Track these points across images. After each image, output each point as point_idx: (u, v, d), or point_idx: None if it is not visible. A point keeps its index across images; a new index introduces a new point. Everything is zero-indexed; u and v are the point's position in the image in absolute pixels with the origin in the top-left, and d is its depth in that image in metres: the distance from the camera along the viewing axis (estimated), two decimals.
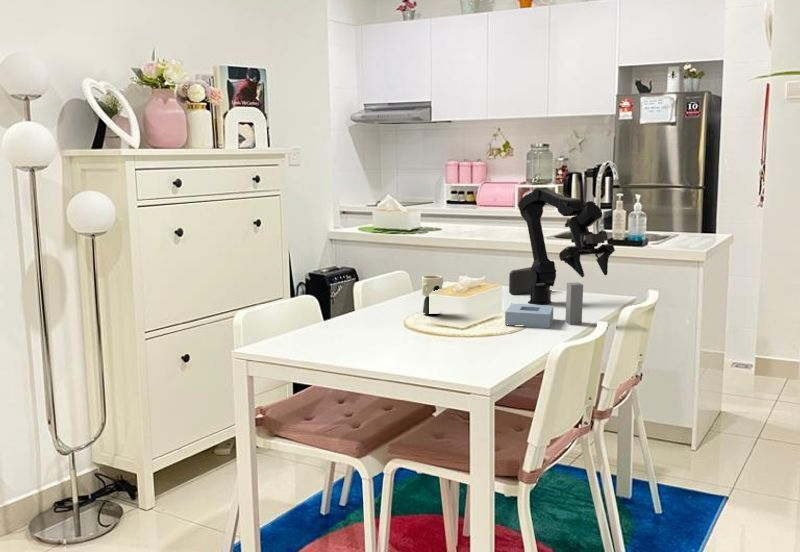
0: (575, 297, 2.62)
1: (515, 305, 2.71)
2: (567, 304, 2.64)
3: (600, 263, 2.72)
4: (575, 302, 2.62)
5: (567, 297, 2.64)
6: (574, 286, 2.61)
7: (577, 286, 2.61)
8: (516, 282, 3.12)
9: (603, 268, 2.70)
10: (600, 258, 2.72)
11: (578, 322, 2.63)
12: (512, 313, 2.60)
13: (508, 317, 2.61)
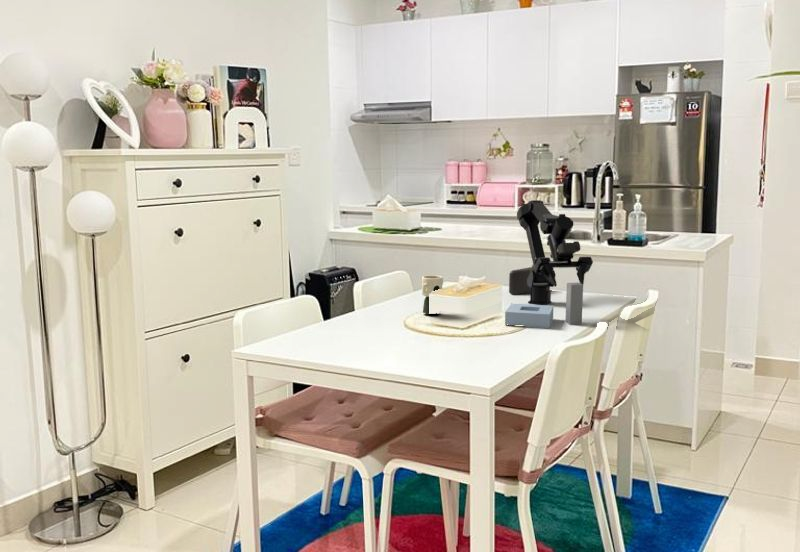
0: (575, 297, 2.62)
1: (515, 305, 2.71)
2: (567, 304, 2.64)
3: (578, 275, 2.73)
4: (575, 302, 2.62)
5: (567, 297, 2.64)
6: (574, 286, 2.61)
7: (577, 286, 2.61)
8: (516, 282, 3.12)
9: (580, 279, 2.70)
10: (578, 270, 2.73)
11: (578, 322, 2.63)
12: (512, 313, 2.60)
13: (508, 317, 2.61)
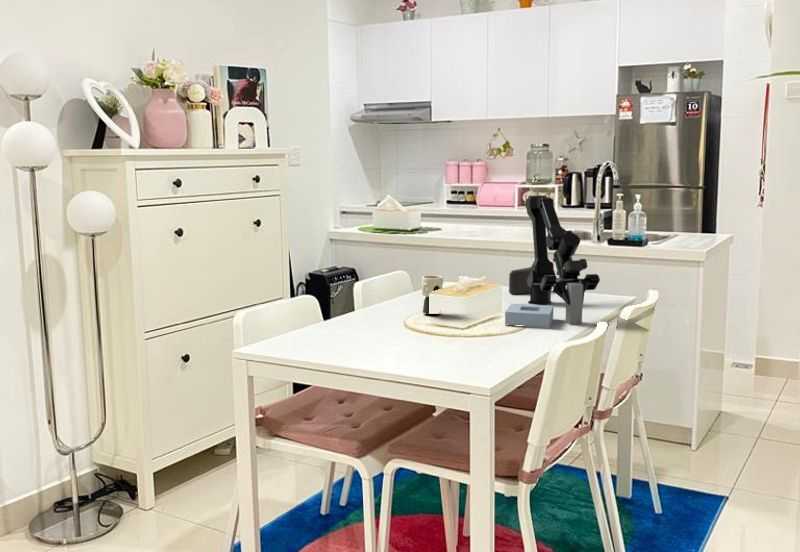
0: (575, 297, 2.62)
1: (515, 305, 2.71)
2: (567, 304, 2.64)
3: None
4: (575, 302, 2.62)
5: None
6: (574, 286, 2.61)
7: (577, 286, 2.61)
8: (516, 282, 3.12)
9: None
10: None
11: (578, 322, 2.63)
12: (512, 313, 2.60)
13: (508, 317, 2.61)
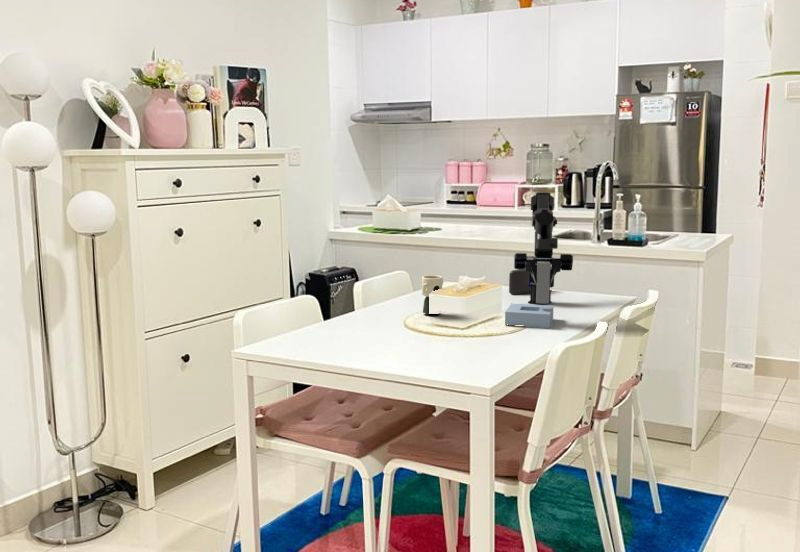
0: (542, 276, 2.61)
1: (515, 305, 2.71)
2: None
3: None
4: (542, 280, 2.61)
5: None
6: (540, 264, 2.60)
7: (544, 265, 2.60)
8: (516, 282, 3.12)
9: None
10: None
11: (545, 301, 2.62)
12: (512, 313, 2.60)
13: (508, 317, 2.61)
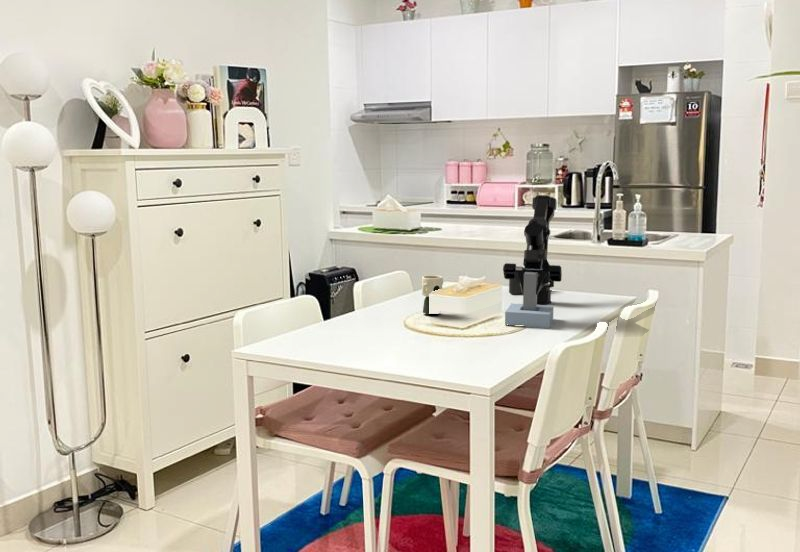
0: (528, 286, 2.63)
1: (515, 305, 2.71)
2: None
3: None
4: (528, 291, 2.63)
5: None
6: (527, 275, 2.62)
7: (530, 275, 2.62)
8: (516, 282, 3.12)
9: None
10: None
11: None
12: (512, 313, 2.60)
13: (508, 317, 2.61)
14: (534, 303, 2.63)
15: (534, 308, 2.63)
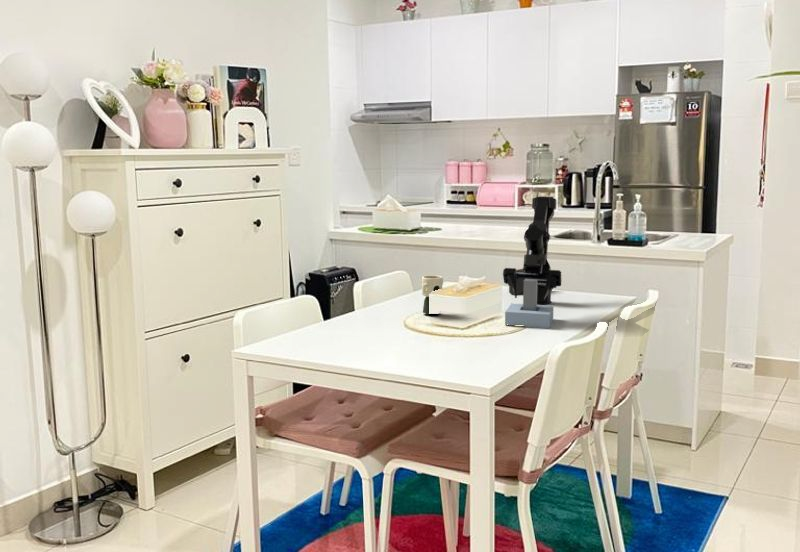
0: (528, 293, 2.63)
1: (515, 305, 2.71)
2: None
3: None
4: (528, 298, 2.63)
5: None
6: (527, 282, 2.62)
7: (530, 282, 2.62)
8: None
9: None
10: None
11: None
12: (512, 313, 2.60)
13: (508, 317, 2.61)
14: (534, 310, 2.63)
15: None
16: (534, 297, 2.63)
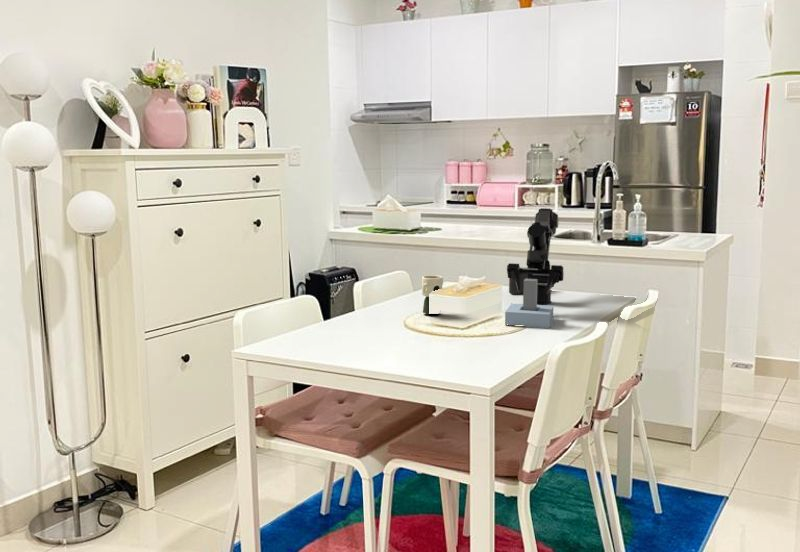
0: (528, 293, 2.63)
1: (515, 305, 2.71)
2: None
3: None
4: (528, 298, 2.63)
5: None
6: (527, 282, 2.62)
7: (530, 282, 2.62)
8: None
9: (547, 287, 2.73)
10: None
11: None
12: (512, 313, 2.60)
13: (508, 317, 2.61)
14: (534, 310, 2.63)
15: None
16: (534, 297, 2.63)
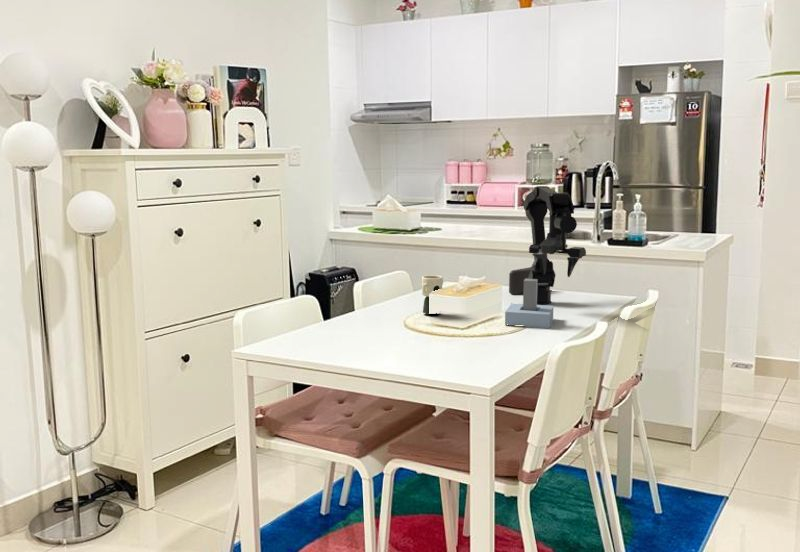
0: (528, 293, 2.63)
1: (515, 305, 2.71)
2: None
3: None
4: (528, 298, 2.63)
5: None
6: (527, 282, 2.62)
7: (530, 282, 2.62)
8: (516, 282, 3.12)
9: None
10: None
11: None
12: (512, 313, 2.60)
13: (508, 317, 2.61)
14: (534, 310, 2.63)
15: None
16: (534, 297, 2.63)
